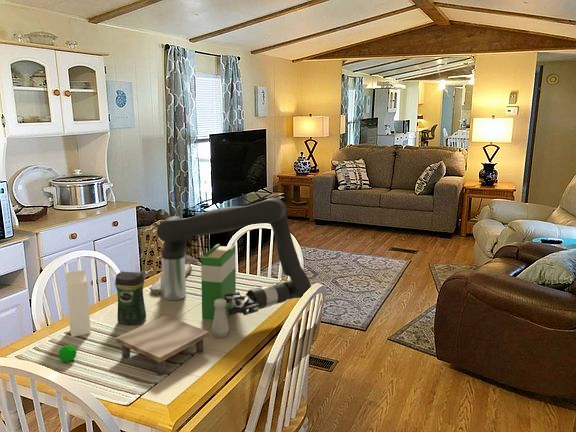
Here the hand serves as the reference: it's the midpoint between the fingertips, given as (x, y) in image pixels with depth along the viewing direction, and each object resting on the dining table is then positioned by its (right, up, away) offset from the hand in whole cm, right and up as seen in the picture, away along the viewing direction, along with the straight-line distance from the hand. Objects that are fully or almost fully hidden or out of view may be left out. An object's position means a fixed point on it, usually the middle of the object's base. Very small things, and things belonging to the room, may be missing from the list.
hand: (222, 307), depth 160 cm
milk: (-49, -9, +2) cm, 50 cm away
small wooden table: (-17, -12, -11) cm, 24 cm away
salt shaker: (-1, -10, +2) cm, 10 cm away
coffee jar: (-34, -7, +11) cm, 37 cm away
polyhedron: (-45, -13, -17) cm, 50 cm away
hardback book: (-4, -5, +22) cm, 23 cm away
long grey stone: (-29, +2, +51) cm, 59 cm away
